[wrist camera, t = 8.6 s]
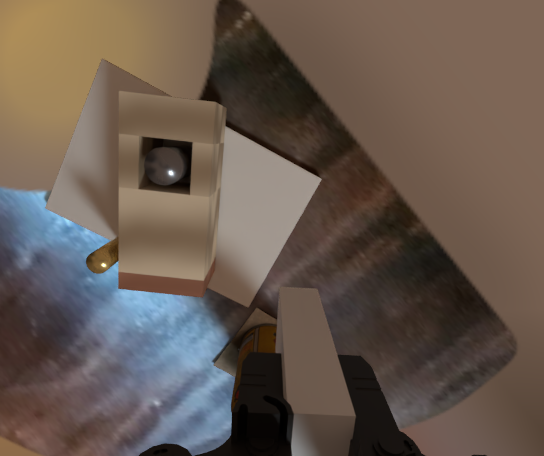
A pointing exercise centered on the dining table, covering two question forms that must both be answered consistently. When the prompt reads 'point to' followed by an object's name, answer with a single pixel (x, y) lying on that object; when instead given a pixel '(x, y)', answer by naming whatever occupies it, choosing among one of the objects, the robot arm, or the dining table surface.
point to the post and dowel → (161, 170)
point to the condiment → (248, 346)
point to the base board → (234, 182)
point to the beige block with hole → (168, 195)
